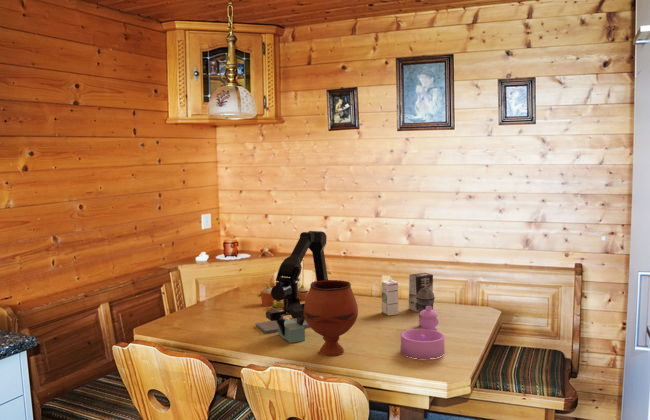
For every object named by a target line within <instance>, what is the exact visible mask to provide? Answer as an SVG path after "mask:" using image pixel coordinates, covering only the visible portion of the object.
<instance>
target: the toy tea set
mask: <svg viewBox="0 0 650 420" xmlns="http://www.w3.org/2000/svg"><path fill="white" fill-rule="evenodd" d="M272 288H273V287H271V286H270V285H267V286H266V287H265V288H263V290H262V291H260V293H258V294H257V295H256V296H257V297H258V298H259V297H260V299H261V306H263V307H267V308H268V307H271V310H274V309H276V310H277V311H283V309H282V307H283V299H282V300H280V301H277V300H275V299H273V297H272V296H271V290H272ZM308 293H309V290H308V289H307V288H306V287H305V285H301V286H300V287H298V298H299V300H300V302H305V300H306V298H307V295H308Z"/></svg>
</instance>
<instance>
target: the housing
mask: <svg viewBox="0 0 650 420" xmlns="http://www.w3.org/2000/svg"><path fill="white" fill-rule="evenodd" d="M284 328H285V336H283V335H282V332H281V330H280V327H279V325H278V332H277V334H278V336H280V337H281V338H282V339H284V340H285V341H287V342H288V343H290V344H291V343H298V342H304V341H305V340H306V335H305V334H306V333H305V332H306V331H305V329H306V328H304V327H303V326H301V325H300V324H298V323H296V322H295V321H293V320H287V321H285V322H284Z"/></svg>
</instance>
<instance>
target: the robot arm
mask: <svg viewBox="0 0 650 420" xmlns="http://www.w3.org/2000/svg"><path fill="white" fill-rule="evenodd" d="M326 245H327V235H326V232H324V231H321V230H319V231H318V230H317V231H316V230H309V231H303V232H301V233H300V234H299V238H298V241H297V242H296V244H295V246H294V247H293V250H292V252H291V254H290V255H289V256H288V257H286V258H285V259H284V260H283V261H282V262H281V264H280V266H279V268H278V272H277V274H276V278H275V281H276V282H275V285H274V286H273V287H271V288H272V290H271V296H272V297H273V299H275V300H277V301H280V300H282V299H283V307H282V309H283V310H276V309H269V310H266V312H265V318H266V319H268V320H269V321H277V323H278V325H279V327H280V330H281V332H282V335H283V336H285V328H284V322H285V320H284V319H283V318H284V317H285V316H286V317H287V316H290V318H294V319H296V318H297V323H298V324H300V325H301V326H302V325H303V322H304V320H305V318H304V304H305V303H301V301H300V300H299V298H298V289H299V286H298V285H299V282H300V281H301V279H300V275H301V272H302V268H303V267H302V262H303V260H304V258H305V256H306V254H307V251H311V253H312V260H313V266H314V270H315V279H316V281H322V280H329V277H328V271H327V270H328V269H327V264H326V258H325V251H324V250H325V248H326Z"/></svg>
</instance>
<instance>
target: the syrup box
mask: <svg viewBox="0 0 650 420" xmlns="http://www.w3.org/2000/svg"><path fill="white" fill-rule="evenodd" d="M381 313H382V314H384V315H386V316H394V315H395V316H396V315H399V282H397V281H396V280H393V279H386V280H381Z"/></svg>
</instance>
